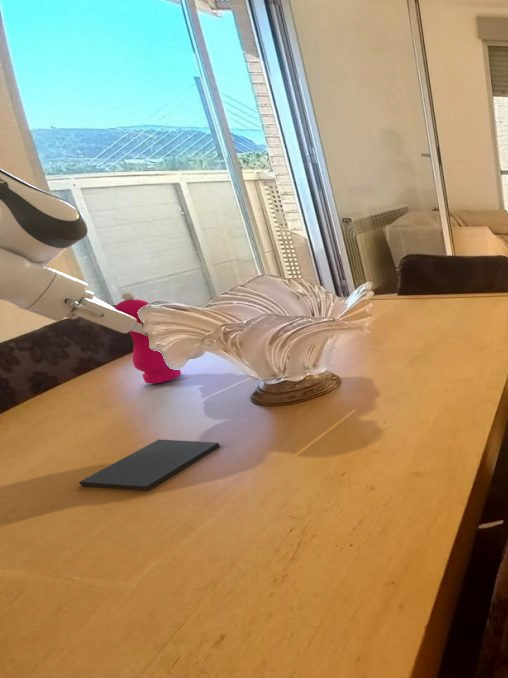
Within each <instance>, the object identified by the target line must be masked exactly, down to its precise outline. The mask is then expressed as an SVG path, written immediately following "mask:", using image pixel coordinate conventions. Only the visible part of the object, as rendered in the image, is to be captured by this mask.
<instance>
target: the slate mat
mask: <svg viewBox="0 0 508 678" xmlns="http://www.w3.org/2000/svg"><path fill="white" fill-rule="evenodd" d="M220 447H221V446H220V444H219V442H212V441H195V440H193V441H192V440H177V439H159V438H158V439H157V440H155V441H153V442H151V443H149V444H147V445H146V446H143V447H142V448H140V449H137V450H136V451H134V452H132V453H130V454H129V455H127V456H124V457H123V458H121V459H119V460H117V461H116V462H114V463H111V464H110V465H108V466H106V467H104V468H103V469H100V470H99V471H97V472H95V473H93V474H91V475H89V476H87V477H85V478H84V479H82V480H80V481H78V483H79V485H80V486H81V487H91V488H101V489H102V488H104V489H118V490H128V491H129V490H131V491H143V492H144V491H145V492H146V491H147V492H149V491H151V490H152V489H154V488H155V487H157V486H159V485H160V484H162V483H164V482H165V481H167V480H169V479H170V478H172V477H173V476H176V475H177V474H178V473H180V472H181V471H183V470H185V469H186V468H188V467H190V466H191V465H192V464H194V463H196V462H197V461H199V460H201V459H202V458H204V457H205V456H207V455H209V454H210V453H212V452H214V451H215V450H217V449H219V448H220Z"/></svg>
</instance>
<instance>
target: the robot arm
mask: <svg viewBox="0 0 508 678" xmlns="http://www.w3.org/2000/svg"><path fill="white" fill-rule="evenodd" d="M0 209H1V210H0V300H2V301H4V302H5V301H6V302H8V303H11V304H13V305H14V306H16V307H18V308H20V309H21V310H24V311H27V312H31V313H33V314H36V315H38V316H42V317H45V318H47V319H50V320H53V321H55V322H56V321H57V322H59V321H62V320H63V319H65V318H68V319H70V320H76V319H78V318H79V317H80V318H82V319H84V320H86V321H89V322H92V323H94V324H97V325H100V326H102V327H105V328H107V329H110V330H113V331H116V332H118V333H122V334H128V333H130V332H129V331H134V332H138V333H141V334H144V335H146V334H145V333H144V332H143V328H142V324H140V323H138V322H136V321H137V319H136V318H134V317H132V316H130V315H128V314H126V313H124V312H122V311H119V310H117V309H115V306H112V305H110V304H109V303H106V302H105V301H103V300H101V299H99V298H96V297H95V293H94V292H93V291H90V290H88V283H87V282H85V281H82V280H80V279H77V278H75V277H72V276H71V275H68V274H65V273H63V272H60V271H58V270H55V269H53V268H50V267H46V266H48V265H49V264H50V263H51V262H52V261H54V260H55V259H57V258H58V257H59V256H60V255H61V254H63V252H65V251H66V250H67V249H68V248H70V247H72V246H73V245H75V244H76V243H78V242H79V241H81V240H83V239H84V238H85V237H87V235H88V232H89V231H88V225H87V223H86V222H87V221H86V220H85V218H84V216H83V214H82V213H81V212H80V210H79V209H78V208H77V207H76V206H75V205H74V204H72V203H70V202H68V201H67V200H65V199H63V198H61V197H59V196H56V195H54V194H52V193H50V192H48V191H45V190H42V189H39V188H38V187H36V186H33V185H32V184H29V183H27V182H25V181H24V180H21V179H20V178H18V177H16V176H14V175H13V174H10V173H9V172H8V171H5V170H4V169H2V168H0ZM146 336H147V335H146Z"/></svg>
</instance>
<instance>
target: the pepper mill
mask: <svg viewBox="0 0 508 678" xmlns="http://www.w3.org/2000/svg"><path fill="white" fill-rule="evenodd" d="M134 297H135V296H134V294H133V293H130V292H124V293H122V295H121V298H122V300H121V301H120V302H118V303H117V304H116V305H115V306H114V308H115V309H117V310H119V311H122V312H124V313H126V314H128V315H130V316H132V317H134V318H136V319H137V321H136V322H138V323H140V324H142V323H141V321H140V319H139V317H138V314H137V312H138V310H139V309H140V308H141V307H143V306H145V305H147V304H150V303H149V302H148V301H146V300H143V299H139V298H134ZM128 333H129V334H130V336H131V338H132V341H133V351H132V363H133V366H134V368H135V369H137V370H138V371H140V372H143V373H142V378H143V381H144V382H145V383H146V384H159V383H165V382H168V381H171V380H174V379H177V378H178V377H180V376H182V371H181V369H180V368H179V370H173V369H170V368H169V367H168V366H167V365H166V363H165V361H164V359H163V356H162V354H161V353H160V352H158V351H153V350H151V349H150V348H149V339H148V336H146V335H144V334H141V333H138V332H134V331H129V332H128Z"/></svg>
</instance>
